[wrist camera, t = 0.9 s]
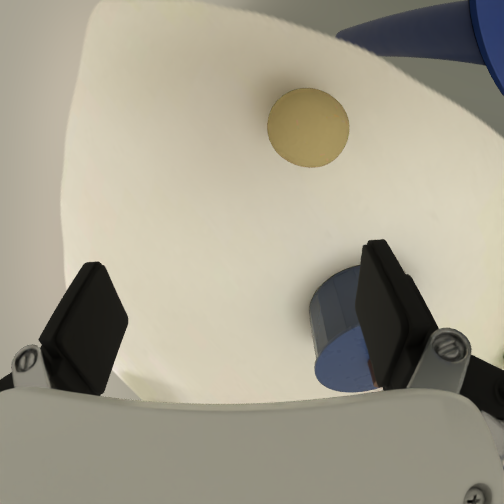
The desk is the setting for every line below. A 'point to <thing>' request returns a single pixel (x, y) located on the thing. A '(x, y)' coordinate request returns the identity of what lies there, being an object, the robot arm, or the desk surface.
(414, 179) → the desk surface
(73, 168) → the desk surface
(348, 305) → the pot
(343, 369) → the pot lid
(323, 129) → the light bulb
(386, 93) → the desk surface
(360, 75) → the desk surface
